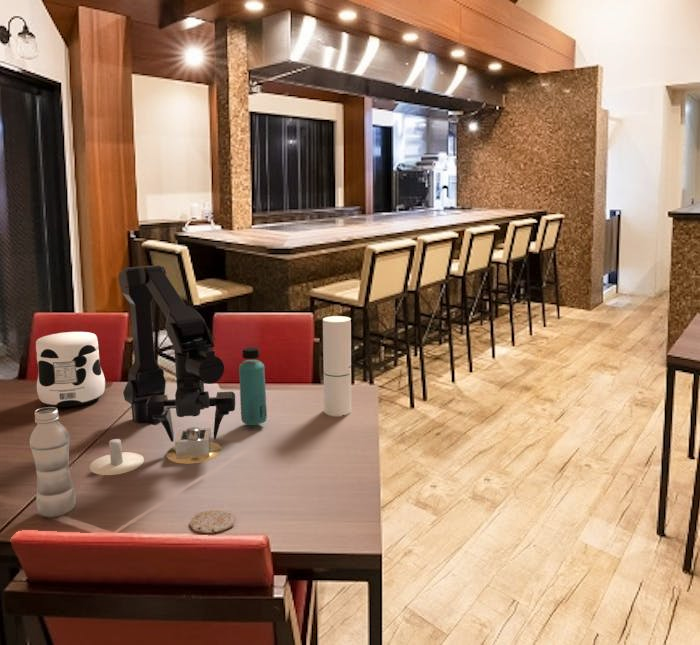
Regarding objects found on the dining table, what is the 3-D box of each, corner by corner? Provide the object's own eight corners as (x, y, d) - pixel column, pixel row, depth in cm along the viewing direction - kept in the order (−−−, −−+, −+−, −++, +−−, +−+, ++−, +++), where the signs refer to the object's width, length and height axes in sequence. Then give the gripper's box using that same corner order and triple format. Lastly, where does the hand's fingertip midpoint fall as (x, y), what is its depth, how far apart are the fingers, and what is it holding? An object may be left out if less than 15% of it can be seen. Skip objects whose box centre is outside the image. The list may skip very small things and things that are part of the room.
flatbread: (183, 533, 111) (182, 527, 110) (200, 511, 118) (200, 506, 118) (227, 537, 109) (227, 532, 109) (242, 515, 117) (242, 510, 116)
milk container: (83, 387, 188) (77, 328, 184) (119, 398, 178) (113, 336, 175) (26, 403, 175) (18, 340, 171) (61, 416, 165) (53, 349, 161)
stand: (78, 471, 134) (75, 446, 132) (118, 452, 143) (115, 428, 142) (116, 482, 129) (113, 456, 127) (155, 461, 138) (153, 436, 137)
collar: (176, 459, 137) (175, 442, 137) (180, 446, 144) (178, 429, 143) (209, 457, 138) (208, 440, 138) (211, 444, 145) (210, 427, 144)
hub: (155, 460, 139) (152, 434, 138) (191, 440, 149) (190, 416, 148) (198, 471, 134) (196, 444, 132) (232, 449, 144) (231, 424, 143)
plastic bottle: (45, 504, 120) (33, 404, 116) (82, 503, 121) (71, 403, 116) (31, 522, 114) (18, 417, 109) (70, 521, 114) (59, 416, 110)
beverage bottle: (262, 431, 154) (259, 352, 150) (236, 429, 156) (233, 351, 151) (271, 421, 161) (268, 345, 156) (246, 420, 162) (242, 344, 157)
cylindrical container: (354, 408, 170) (354, 317, 164) (345, 417, 163) (345, 322, 158) (329, 405, 172) (328, 315, 166) (320, 414, 165) (318, 321, 160)
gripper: (138, 386, 128) (144, 458, 132) (232, 381, 131) (235, 452, 134) (147, 370, 139) (152, 437, 142) (233, 366, 142) (236, 432, 145)
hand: (193, 439), depth 141 cm, fingers open, 9 cm apart
